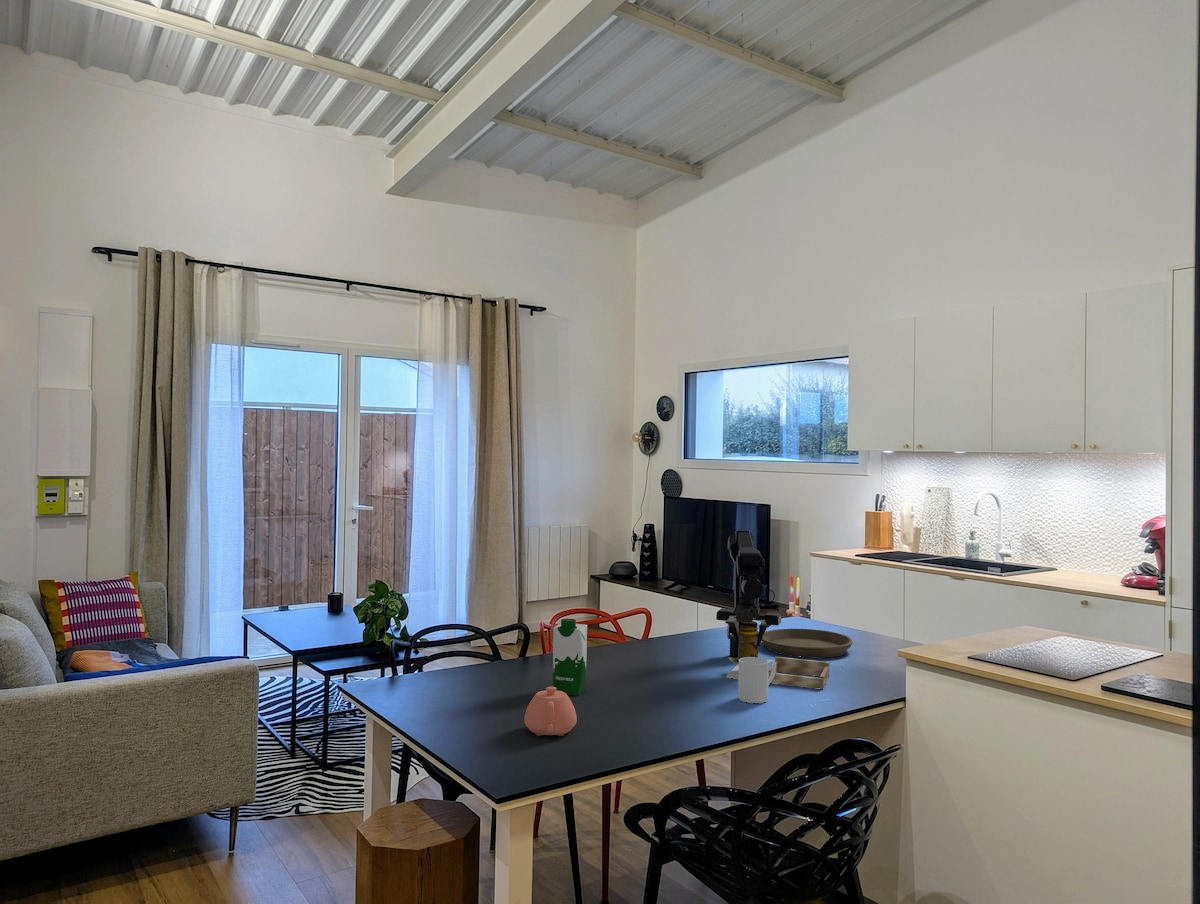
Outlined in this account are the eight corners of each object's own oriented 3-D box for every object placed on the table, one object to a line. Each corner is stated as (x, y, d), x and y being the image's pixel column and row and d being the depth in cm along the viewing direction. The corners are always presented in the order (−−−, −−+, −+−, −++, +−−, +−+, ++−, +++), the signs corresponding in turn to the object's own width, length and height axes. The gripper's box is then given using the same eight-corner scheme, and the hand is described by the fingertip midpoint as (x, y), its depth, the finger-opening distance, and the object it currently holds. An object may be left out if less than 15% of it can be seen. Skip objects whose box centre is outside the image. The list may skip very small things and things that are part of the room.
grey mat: (726, 677, 241) (726, 675, 241) (736, 667, 254) (736, 665, 254) (759, 681, 237) (759, 679, 237) (768, 670, 250) (768, 668, 250)
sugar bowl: (576, 723, 197) (577, 680, 197) (576, 743, 183) (577, 697, 183) (525, 722, 196) (526, 680, 197) (522, 742, 182) (522, 696, 183)
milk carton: (549, 694, 221) (550, 620, 221) (559, 685, 230) (560, 614, 230) (579, 697, 218) (581, 622, 219) (589, 688, 227) (590, 616, 227)
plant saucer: (755, 655, 271) (755, 642, 271) (764, 637, 301) (764, 624, 301) (852, 664, 262) (852, 650, 262) (852, 644, 291) (852, 631, 292)
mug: (753, 705, 214) (753, 665, 214) (732, 698, 220) (732, 659, 220) (785, 698, 221) (785, 659, 221) (763, 691, 227) (764, 654, 227)
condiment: (762, 664, 243) (763, 624, 243) (734, 664, 242) (735, 624, 242) (754, 658, 250) (755, 619, 250) (728, 658, 249) (728, 619, 249)
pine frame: (766, 683, 236) (766, 667, 236) (775, 671, 250) (775, 656, 250) (823, 689, 230) (823, 673, 230) (829, 677, 244) (829, 662, 244)
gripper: (712, 595, 242) (711, 647, 242) (775, 600, 235) (774, 654, 235) (721, 589, 252) (720, 640, 252) (781, 594, 245) (781, 646, 245)
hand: (748, 645), depth 246 cm, fingers closed on condiment, 6 cm apart
